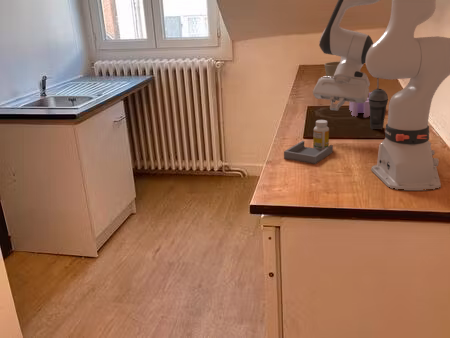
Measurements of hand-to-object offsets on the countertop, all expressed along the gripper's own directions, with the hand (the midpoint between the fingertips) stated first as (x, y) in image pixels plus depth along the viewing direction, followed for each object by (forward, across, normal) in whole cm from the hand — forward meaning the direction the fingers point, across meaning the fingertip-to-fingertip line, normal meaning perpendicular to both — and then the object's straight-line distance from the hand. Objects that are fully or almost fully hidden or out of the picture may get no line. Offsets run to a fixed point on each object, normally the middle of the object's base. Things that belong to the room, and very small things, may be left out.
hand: (333, 109), depth 169 cm
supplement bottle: (+15, 0, +1) cm, 15 cm away
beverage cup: (-6, +9, +23) cm, 25 cm away
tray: (+22, 0, -6) cm, 23 cm away
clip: (-22, -6, +39) cm, 45 cm away
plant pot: (-41, -30, +59) cm, 78 cm away
